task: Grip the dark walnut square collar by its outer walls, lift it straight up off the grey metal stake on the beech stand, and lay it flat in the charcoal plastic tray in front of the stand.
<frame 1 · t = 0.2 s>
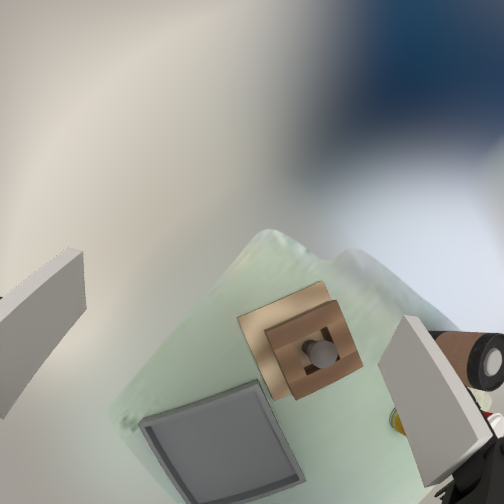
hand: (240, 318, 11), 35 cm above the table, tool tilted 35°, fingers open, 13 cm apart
stake stand: (297, 340, 45), on the table
tray: (224, 451, 40), on the table
paper cup: (449, 416, 43), on the table
collar: (309, 347, 37), point 8 cm above the table, touching stake stand
supplement bottle: (401, 415, 43), on the table
travel mug: (417, 350, 45), on the table
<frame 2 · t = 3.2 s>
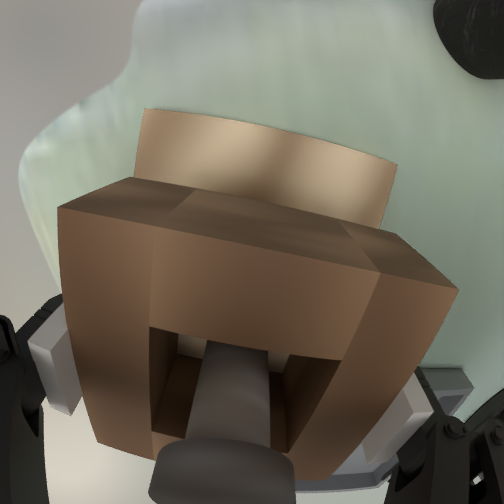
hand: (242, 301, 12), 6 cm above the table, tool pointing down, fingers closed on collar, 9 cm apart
stake stand: (247, 245, 18), on the table
tray: (338, 433, 26), on the table
collar: (239, 322, 11), point 8 cm above the table, touching gripper, stake stand
travel mug: (470, 34, 12), on the table
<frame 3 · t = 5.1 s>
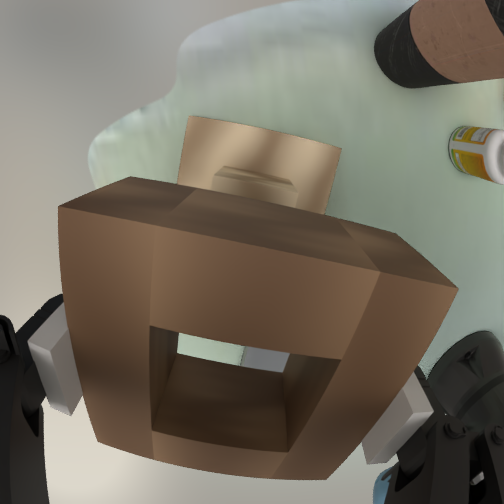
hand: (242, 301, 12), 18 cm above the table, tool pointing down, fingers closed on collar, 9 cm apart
stake stand: (250, 200, 29), on the table
tray: (320, 360, 36), on the table
collar: (239, 322, 11), point 20 cm above the table, touching gripper
supplement bottle: (463, 149, 26), on the table
travel mug: (403, 57, 23), on the table
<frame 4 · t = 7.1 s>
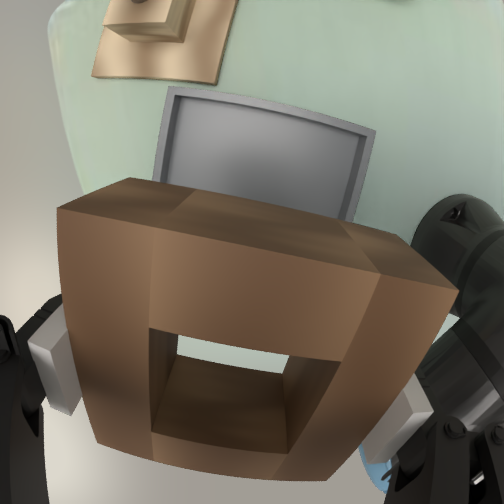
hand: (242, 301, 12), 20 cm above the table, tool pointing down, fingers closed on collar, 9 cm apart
stake stand: (167, 22, 24), on the table
tray: (252, 198, 31), on the table
collar: (239, 323, 11), point 22 cm above the table, touching gripper
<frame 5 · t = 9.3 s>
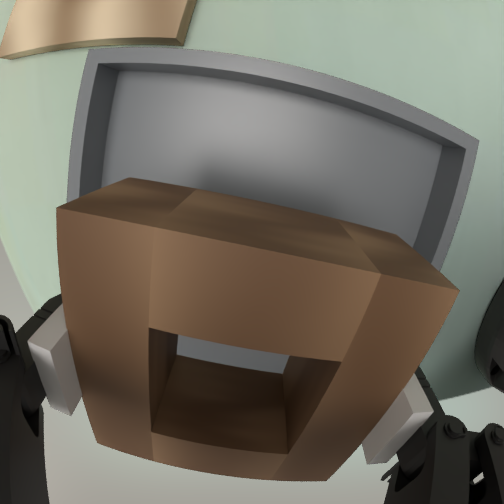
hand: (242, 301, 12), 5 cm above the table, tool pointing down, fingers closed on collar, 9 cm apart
tray: (250, 255, 17), on the table
collar: (239, 323, 11), point 7 cm above the table, touching gripper
when the fingers open (2 cm above the table, at t = 10.9 s): collar drops 3 cm, resting on tray.
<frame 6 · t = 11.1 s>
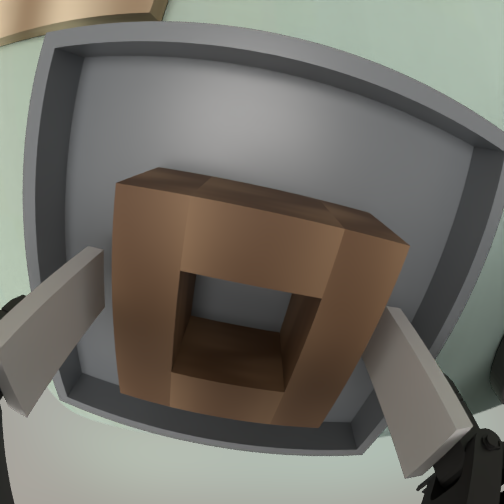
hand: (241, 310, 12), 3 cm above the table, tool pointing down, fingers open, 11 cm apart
tray: (244, 279, 14), on the table
collar: (244, 285, 14), point 1 cm above the table, touching tray
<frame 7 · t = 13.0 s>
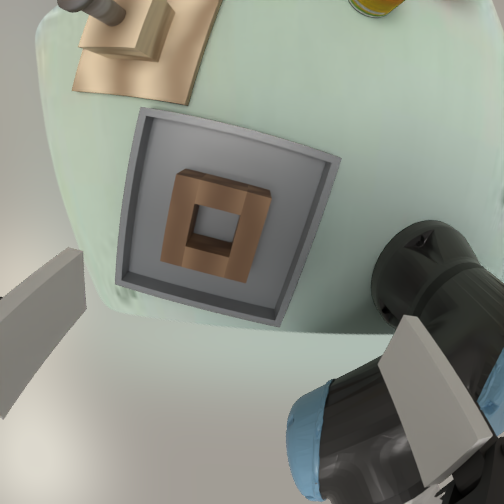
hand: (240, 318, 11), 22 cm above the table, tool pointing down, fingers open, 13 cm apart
stake stand: (145, 38, 25), on the table
tray: (217, 217, 33), on the table
collar: (217, 219, 32), point 1 cm above the table, touching tray
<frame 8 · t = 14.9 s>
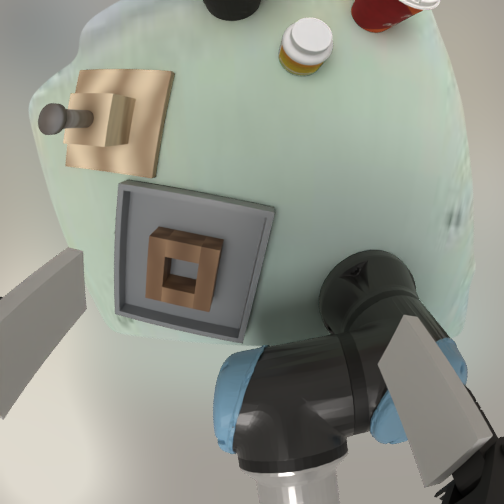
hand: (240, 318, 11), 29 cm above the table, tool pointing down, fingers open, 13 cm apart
stake stand: (116, 119, 34), on the table
tray: (187, 261, 42), on the table
paper cup: (370, 15, 28), on the table
collar: (186, 263, 41), point 1 cm above the table, touching tray
supplement bottle: (299, 57, 31), on the table
travel mug: (233, 0, 28), on the table
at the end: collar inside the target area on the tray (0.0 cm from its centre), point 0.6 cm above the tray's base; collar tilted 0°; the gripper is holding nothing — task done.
